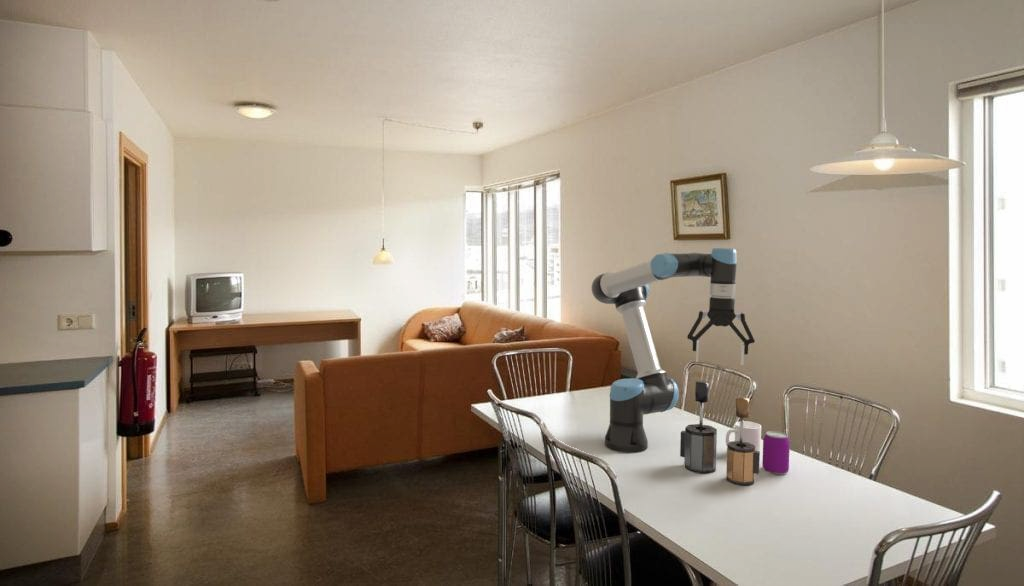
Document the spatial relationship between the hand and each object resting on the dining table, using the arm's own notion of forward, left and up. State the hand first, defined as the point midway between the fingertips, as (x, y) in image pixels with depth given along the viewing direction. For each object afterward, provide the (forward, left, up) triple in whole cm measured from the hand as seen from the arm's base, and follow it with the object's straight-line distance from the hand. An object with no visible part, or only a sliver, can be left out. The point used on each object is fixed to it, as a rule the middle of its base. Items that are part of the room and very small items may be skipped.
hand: (719, 362), depth 191 cm
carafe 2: (+9, -9, -34) cm, 36 cm away
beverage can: (+17, +5, -34) cm, 38 cm away
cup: (+5, +16, -34) cm, 38 cm away
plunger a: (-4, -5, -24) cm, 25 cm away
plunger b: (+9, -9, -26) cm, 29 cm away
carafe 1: (-4, -5, -34) cm, 34 cm away
